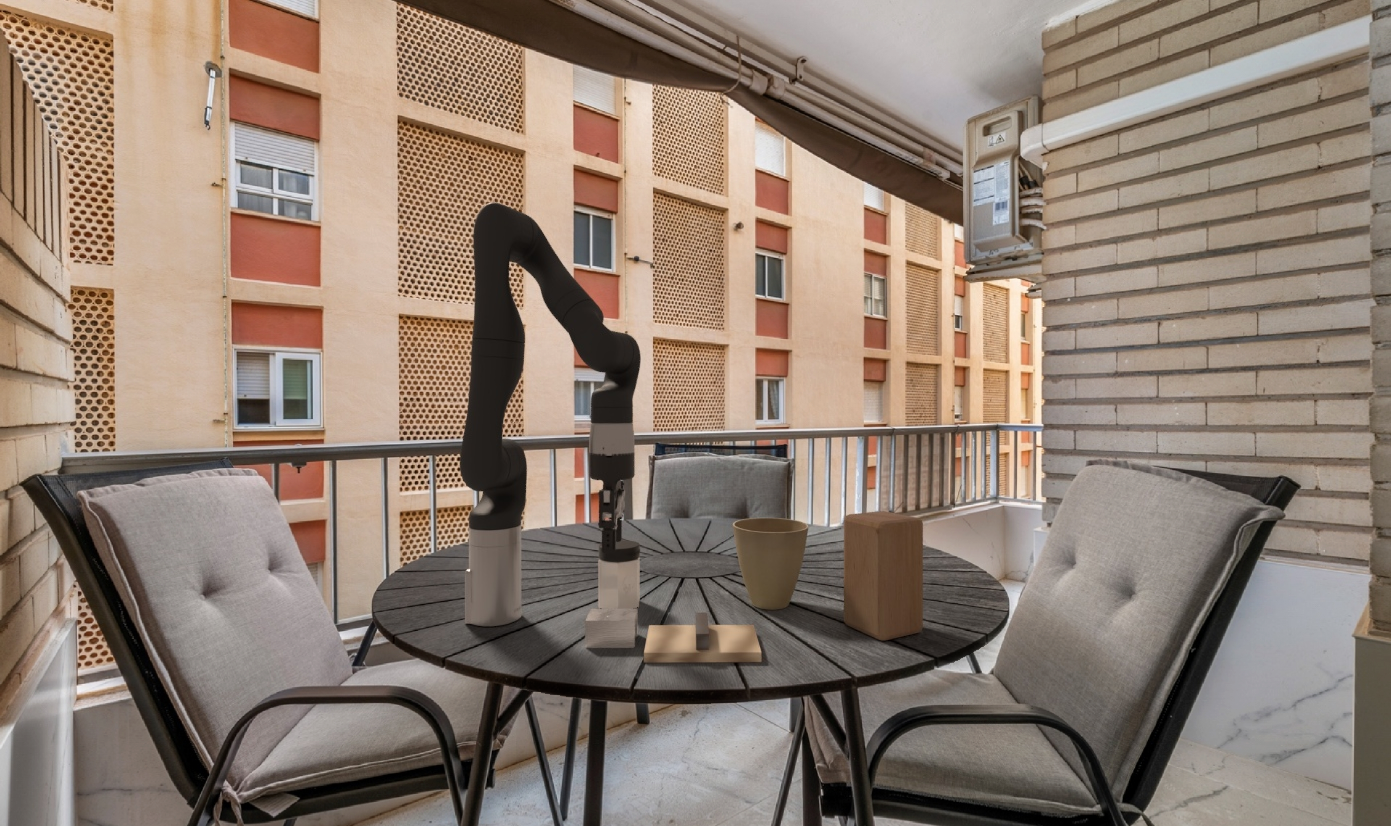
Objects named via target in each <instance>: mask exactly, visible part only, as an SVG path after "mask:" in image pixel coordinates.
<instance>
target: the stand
mask: <svg viewBox="0 0 1391 826" xmlns="http://www.w3.org/2000/svg"><path fill="white" fill-rule="evenodd" d="M643 663H645V664H646V663H647V664H648V663H649V664H651V663H762V649H761V647H760V643H759V639H758V636H757V632H756V628H755V625H754V624H709V618H708V612H695V624H677V625H676V624H666V625H665V624H664V625H663V624H662V625H661V624H659V625H658V624H655V625H654V624H653V625H652V624H651V625H650V624H649V625H648V631H647V635H646V639H645V645H644V650H643Z"/></svg>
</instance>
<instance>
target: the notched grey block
mask: <svg viewBox="0 0 1391 826" xmlns="http://www.w3.org/2000/svg"><path fill="white" fill-rule="evenodd" d="M638 609H639V608H634V609H600V608H591V609H590V610H589V612H588V614H587V616H586V619H585V620H584V633H585V635H584V638H585V639H584V641H585V642H584V643H585V644H584V646H585V647H584V648H585V649H593V648H594V649H602V648H603V649H606V648H607V649H622V648H623V649H625V648H626V649H627V648H628V649H630V648H631V649H632V648H633V649H634V647H636V638H638V635H637V634H638V630H639V629H638V628H639V627H638V622H639V621H638V614H639V613H638V611H639V610H638Z"/></svg>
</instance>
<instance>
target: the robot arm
mask: <svg viewBox="0 0 1391 826" xmlns="http://www.w3.org/2000/svg"><path fill="white" fill-rule="evenodd" d="M472 236H473V239H472V241H473V242H472V243H473V244H472V245H473V263H474V264H473V265H474V266H473V267H474V303H473V304H474V307H473V308H474V309H473V312H474V313H473V325H472V327H473V328H472V335H471V336H472V338H471V350H470V352H471V353H470V374H469V375H470V377H469V387H468V389H469V390H468V401H467V411H466V419H465V423H464V424H465V425H464V430H463V431H464V432H463V435H462V436H463V437H462V443H461V449H460V455H459V470H460V476H461V477H462V480H463V482H464V484H465V485H466V486H467V487H468V488H469V489H470V490H472V491H475V492H482V493H481V494H482V496H481V498H480V500H479V501H478V503H477V504H476V505H475V507H473V508H472V509H471V511H470V512H469V515H468V568H467V569H466V570H465V572H464V624H471V625H474V626H478V627H479V626H480V627H495V626H496V627H498V626H503V625H504V626H505V625H508V624H512V623H513V622H517V621H518V620H520V619H521V617H522V607H523V606H522V516H523V513H524V511H525V507H526V501H527V500H526V499H527V480H528V479H527V478H528V465H527V464H528V462H527V458H526V453H525V452H524V449H523V448H522V446H521V444H519V443H518V442H517V441H515V440H514V439H510V438H503V431H504V430H503V429H504V419H505V415H506V410H507V407H508V405H509V402H510V400H511V398H512V396H513V395H514V392H515V391H516V389H517V386H518V383H519V382H520V379H521V377H522V374H523V370H524V365H525V364H524V363H525V350H526V349H525V346H526V332H525V327H524V323H523V320H522V318H521V315H520V312H519V310H518V307H517V305H516V302H515V300H514V297H513V294H512V293H513V292H512V289H511V284H510V283H511V282H510V263H514V264H517V265H518V266H520V267H521V268H522V269H524V270H525V271H526V272H527V273H528V274H529V275H530V276H531V277H532V278H533V279H534V280H535V282H536V283H537V284H538V286H539V289H540V294H541V297H542V300H543V302H544V304H545V306H546V308H547V309H548V311H549V312H550V313H551V315H552V316H553V318H555V320H556V321H557V322H558V323H559V324H560V326H561V327H562V328H563V329H564V331H566V332H567V334H568V335H569V337H570V341H571V342H572V344H573V346H574V348H575V351H576V353H577V354H578V356H579V357H580V359H581V360H582V362H583V363H584V364H585V365H586V366H587V367H589V368H590V369H591V370H594V371H595V372H598V373H604V377H603V381H602V382H603V383H602V385H601V387H599V388H596V389H595V390H593V391H592V393H591V397H590V429H589V436H588V437H589V439H588V440H589V441H588V442H589V443H588V445H589V446H588V447H589V448H588V450H589V453H588V458H589V459H588V460H589V463H588V465H589V467H588V469H589V472H588V473H589V478H590V479H591V480H593V481H602V488H601V489H599V491H598V493H597V495H598V523H597V525H598V528H599V529H600V531H601V543H602V552H603V553H604V554H613V553H615V551H616V542H620V541H621V540H622V539H623V536H622V535H623V518H624V513H625V496H626V488H625V482H624V481H629V480H632V479H633V478H634V477H635V475H636V474H635V471H636V470H635V468H636V467H635V464H636V463H635V462H636V461H635V460H636V459H635V455H636V454H635V453H636V452H635V431H634V420H633V419H634V413H633V412H634V409H633V408H634V402H633V398H634V395H635V392H636V387H637V384H638V378H639V374H640V369H641V351H640V347H639V344H638V342H637V340H636V339H635V337H634V336H632V335H630V334H628V333H624V332H620V331H619V332H618V331H616V330H615V331H614V330H611V329H610V328H608V327H607V326H606V325H605V324H604V320H605V319H604V313H603V310H602V309H601V307H600V306H599V304H597V303H596V302H595V300H594V299H593V297H591V296H590V295H589V293H588V292H587V291H586V290H585V289H584V288H583V287H582V286H581V285H580V284H579V282H578V281H577V280H576V279H575V278H574V276H573V275H572V274H571V273H570V272H569V270H568V269H567V268H566V266H565V265H564V264H563V262H562V261H561V258H560V257H559V256H558V254H557V253H556V251H555V250H554V248H553V247H552V245H551V244H550V242H549V240H548V238H547V236H546V235H545V234H544V232H543V230H542V228H541V227H540V226H539V224H538V223H537V222H536V221H535V220H534V218H532V216H529V215H528V214H526V213H524V212H521V211H519V210H516V209H514V208H512V207H511V206H507V205H506V204H502V203H500V202H489V203H486V204H485V205H484V206H482V208H481V209H480V210H479V212H478V213H477V216H476V218H475V222H474V226H473V235H472ZM606 518H607V520H606Z"/></svg>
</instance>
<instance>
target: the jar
mask: <svg viewBox="0 0 1391 826" xmlns="http://www.w3.org/2000/svg"><path fill="white" fill-rule="evenodd" d="M640 545H641V544H640V543H639V542H637V541H634V540H627V539H625V540H624V539H623V540H621V541H620V542H616V551H615V553H613V554H604V553H603V552H602V542H601V543H599V545H598V562H597V563H598V564H597V566H598V568H597V569H598V571H597V572H598V573H597V574H598V580H597V581H598V586H597V587H598V598H597V599H598V600H597V601H598V603H597V604H598V609H600V608H602V609H632V608H634V609H638V608H639V606H640V601H641V600H640V596H641V595H640V584H641V583H640V577H641V576H640V557H641V555H640V554H641V546H640ZM637 607H638V608H637Z"/></svg>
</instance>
